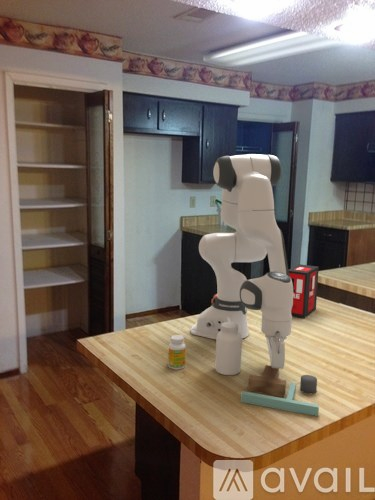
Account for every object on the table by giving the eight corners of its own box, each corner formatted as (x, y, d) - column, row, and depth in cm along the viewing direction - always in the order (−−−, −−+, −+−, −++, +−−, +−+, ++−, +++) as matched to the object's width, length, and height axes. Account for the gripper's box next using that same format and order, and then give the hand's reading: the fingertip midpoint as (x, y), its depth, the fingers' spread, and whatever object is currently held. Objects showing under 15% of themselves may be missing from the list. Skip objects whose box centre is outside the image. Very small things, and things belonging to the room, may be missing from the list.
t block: (248, 390, 125) (248, 378, 124) (255, 374, 135) (256, 363, 134) (283, 397, 121) (284, 384, 121) (288, 379, 131) (289, 368, 131)
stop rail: (240, 401, 118) (241, 393, 118) (249, 383, 129) (249, 375, 129) (318, 416, 112) (318, 407, 111) (320, 395, 123) (320, 387, 122)
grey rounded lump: (299, 392, 124) (300, 380, 124) (300, 385, 129) (301, 373, 128) (315, 394, 123) (316, 383, 122) (316, 387, 127) (317, 376, 127)
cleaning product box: (297, 305, 207) (299, 264, 203) (315, 309, 202) (318, 266, 198) (284, 314, 193) (286, 270, 190) (304, 318, 188) (307, 273, 185)
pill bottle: (233, 378, 132) (235, 330, 129) (210, 371, 136) (211, 325, 134) (245, 368, 139) (246, 323, 136) (222, 362, 143) (223, 318, 140)
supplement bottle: (172, 371, 136) (173, 341, 135) (165, 364, 141) (165, 335, 139) (188, 367, 139) (188, 338, 137) (180, 361, 143) (180, 333, 142)
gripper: (291, 339, 121) (288, 386, 124) (283, 316, 141) (281, 357, 144) (268, 338, 122) (265, 384, 124) (263, 315, 142) (261, 355, 144)
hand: (274, 369), depth 134 cm, fingers closed
